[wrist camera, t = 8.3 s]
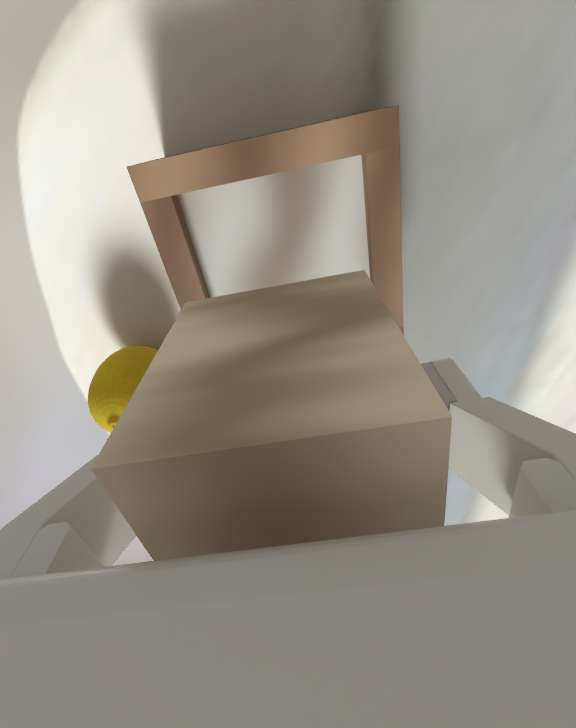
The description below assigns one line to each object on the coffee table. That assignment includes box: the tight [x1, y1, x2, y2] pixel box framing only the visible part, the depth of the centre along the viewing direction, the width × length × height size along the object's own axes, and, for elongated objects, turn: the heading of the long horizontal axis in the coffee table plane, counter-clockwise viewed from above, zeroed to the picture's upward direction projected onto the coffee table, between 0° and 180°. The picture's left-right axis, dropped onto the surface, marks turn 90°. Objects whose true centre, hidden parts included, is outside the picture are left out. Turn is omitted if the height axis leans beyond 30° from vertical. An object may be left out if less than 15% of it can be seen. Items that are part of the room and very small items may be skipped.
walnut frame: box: [127, 105, 404, 335], centre depth 22 cm, size 12×12×6 cm
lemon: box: [88, 346, 158, 433], centre depth 26 cm, size 6×6×8 cm
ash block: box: [91, 270, 452, 561], centre depth 9 cm, size 5×5×6 cm
